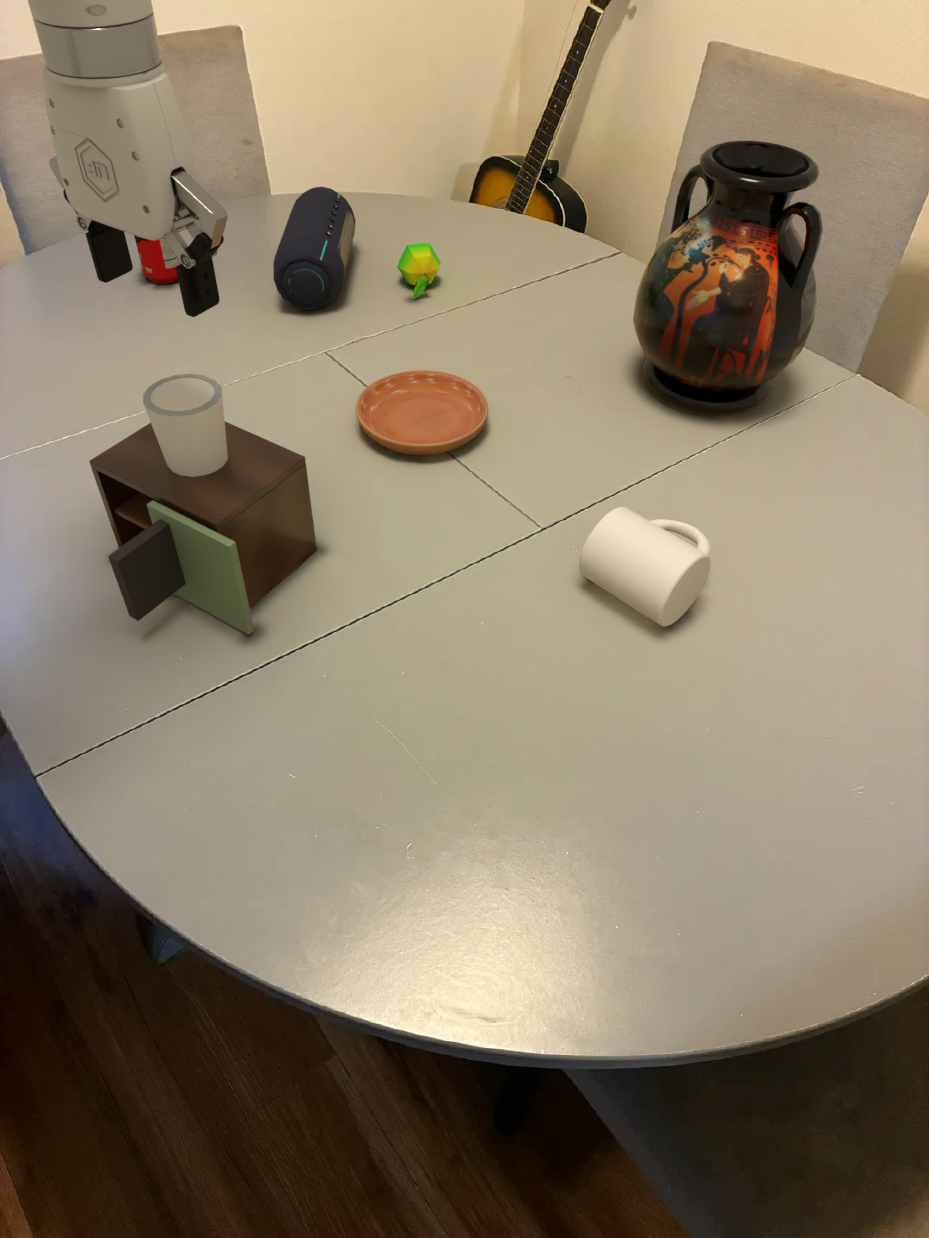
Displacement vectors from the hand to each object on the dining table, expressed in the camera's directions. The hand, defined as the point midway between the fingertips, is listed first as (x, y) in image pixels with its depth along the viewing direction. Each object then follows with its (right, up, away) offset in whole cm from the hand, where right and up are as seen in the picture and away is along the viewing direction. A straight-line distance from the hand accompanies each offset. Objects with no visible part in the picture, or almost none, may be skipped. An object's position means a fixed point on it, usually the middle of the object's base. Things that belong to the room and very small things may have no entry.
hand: (158, 292), depth 71 cm
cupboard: (-1, -20, +20) cm, 28 cm away
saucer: (+19, -3, +37) cm, 42 cm away
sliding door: (-1, -27, +13) cm, 30 cm away
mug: (+43, -23, +19) cm, 53 cm away
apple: (+18, +24, +63) cm, 69 cm away
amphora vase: (+56, +4, +46) cm, 72 cm away
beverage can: (-20, +25, +63) cm, 71 cm away
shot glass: (0, -11, +12) cm, 16 cm away
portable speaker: (+3, +25, +64) cm, 68 cm away
